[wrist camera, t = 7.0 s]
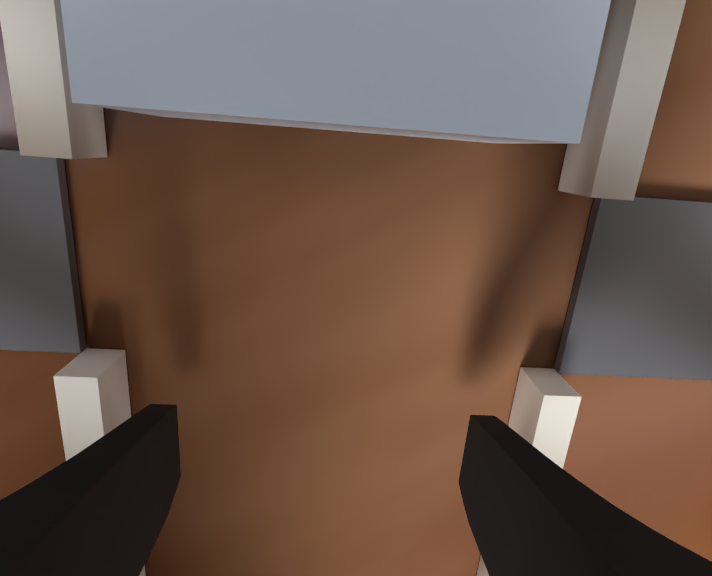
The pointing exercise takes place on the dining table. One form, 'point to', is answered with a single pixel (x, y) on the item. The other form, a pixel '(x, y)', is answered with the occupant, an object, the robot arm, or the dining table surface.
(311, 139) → the dining table surface
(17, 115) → the trap lane
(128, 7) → the block
